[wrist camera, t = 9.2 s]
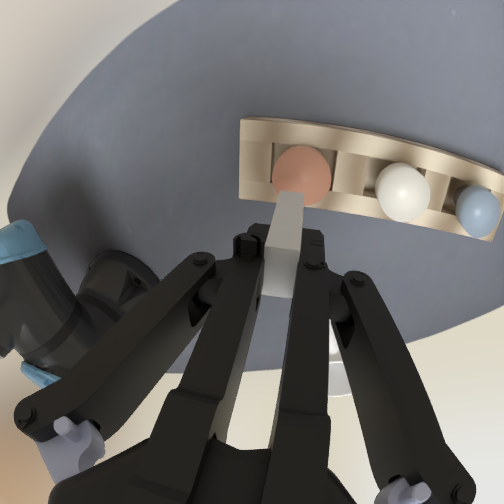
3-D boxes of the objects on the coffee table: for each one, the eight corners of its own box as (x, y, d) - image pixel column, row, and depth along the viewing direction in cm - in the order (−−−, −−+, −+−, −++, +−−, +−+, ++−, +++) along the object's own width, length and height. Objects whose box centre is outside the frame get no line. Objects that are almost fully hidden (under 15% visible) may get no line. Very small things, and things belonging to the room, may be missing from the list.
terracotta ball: (276, 184, 27) (270, 202, 23) (280, 137, 24) (273, 147, 21) (325, 190, 26) (326, 209, 23) (331, 143, 24) (335, 154, 20)
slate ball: (441, 212, 24) (457, 233, 21) (452, 171, 22) (472, 187, 18) (472, 220, 24) (490, 241, 20) (485, 182, 21) (506, 199, 17)
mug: (361, 271, 33) (370, 337, 24) (366, 332, 39) (371, 393, 30) (295, 281, 36) (286, 347, 27) (312, 339, 42) (307, 399, 33)
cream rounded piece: (365, 197, 26) (374, 217, 22) (374, 151, 23) (385, 163, 19) (408, 205, 25) (421, 226, 21) (419, 161, 22) (436, 176, 19)
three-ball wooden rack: (245, 188, 30) (238, 198, 28) (247, 116, 26) (240, 119, 23) (481, 229, 26) (491, 241, 23) (499, 171, 21) (512, 180, 19)
